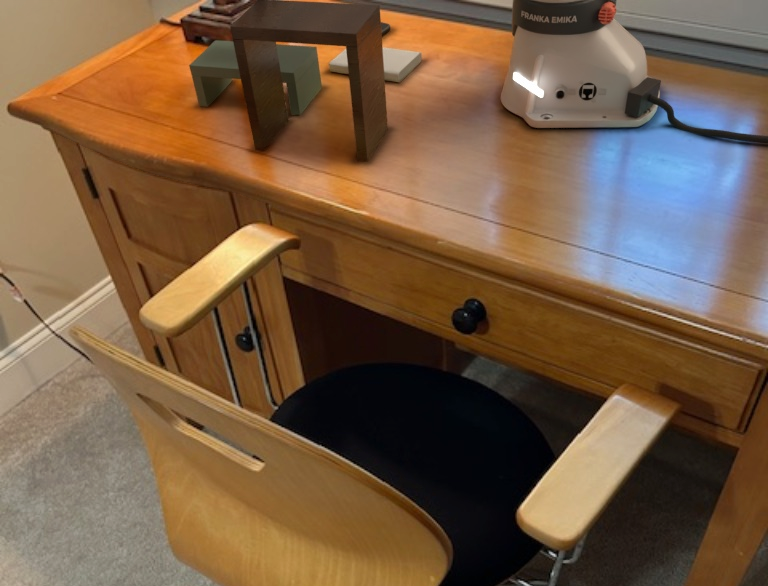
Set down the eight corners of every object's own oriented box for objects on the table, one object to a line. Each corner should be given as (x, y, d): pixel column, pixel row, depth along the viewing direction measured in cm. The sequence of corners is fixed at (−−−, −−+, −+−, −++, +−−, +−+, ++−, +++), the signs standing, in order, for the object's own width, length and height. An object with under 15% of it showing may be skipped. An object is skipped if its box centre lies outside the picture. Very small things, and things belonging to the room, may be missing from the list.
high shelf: (388, 130, 113) (379, 4, 100) (367, 161, 108) (356, 34, 95) (279, 120, 117) (258, -2, 105) (254, 150, 112) (229, 26, 100)
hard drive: (398, 84, 122) (329, 72, 126) (422, 62, 126) (354, 51, 130) (398, 72, 121) (328, 61, 125) (421, 51, 125) (353, 41, 129)
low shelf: (322, 88, 123) (316, 46, 118) (300, 115, 118) (293, 73, 113) (224, 80, 127) (215, 40, 122) (199, 106, 122) (188, 65, 117)
